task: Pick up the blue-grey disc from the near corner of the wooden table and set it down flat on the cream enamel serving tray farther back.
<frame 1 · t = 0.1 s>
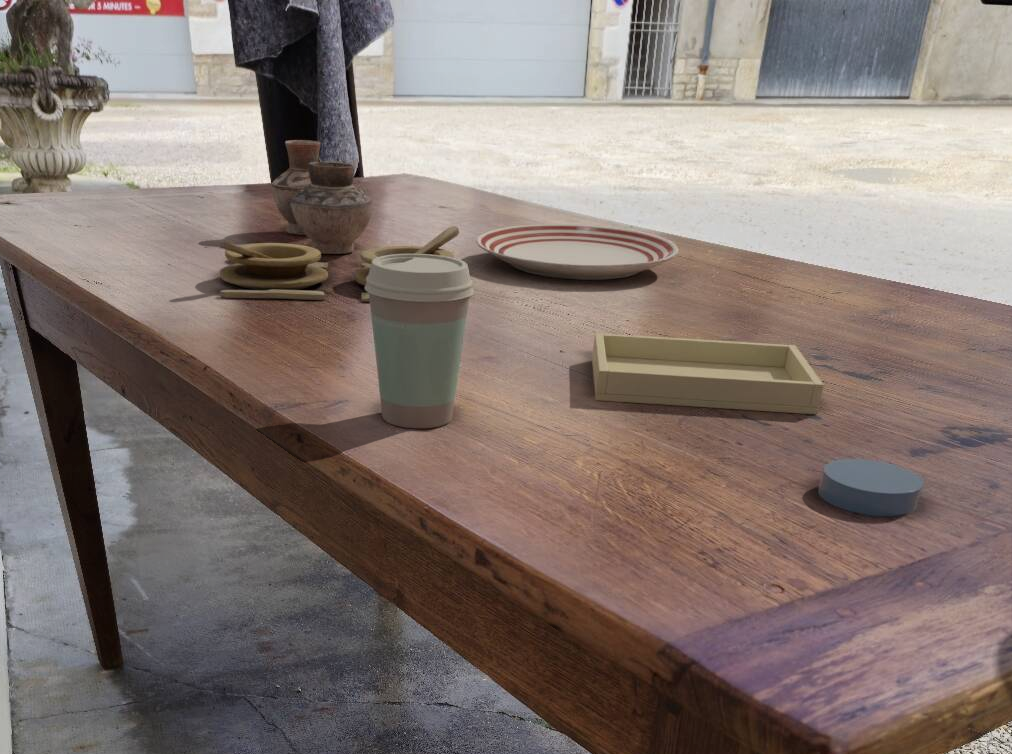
serving tray: (697, 385, 98), on the table
dinner plate: (574, 268, 144), on the table
blue-grey disc: (864, 504, 75), on the table
tableware set: (342, 285, 129), on the table
coffee cup: (416, 420, 87), on the table
pottery: (319, 243, 151), on the table
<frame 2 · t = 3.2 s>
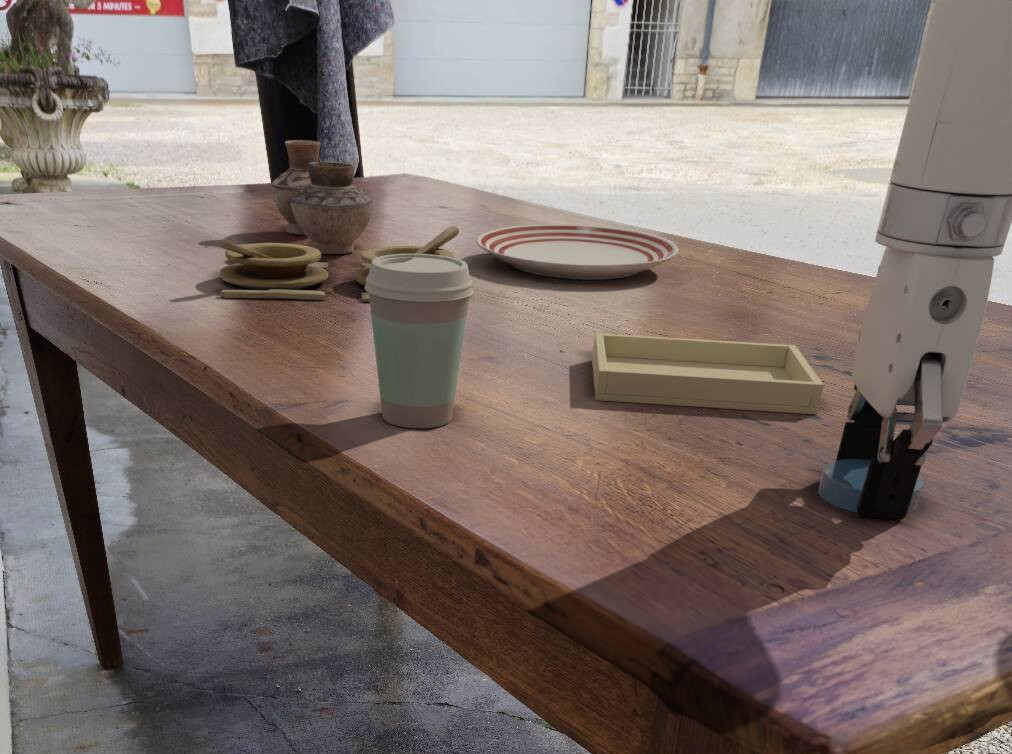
hand: (867, 494, 75), 1 cm above the table, tool pointing down, fingers closed on blue-grey disc, 6 cm apart
blue-grey disc: (864, 504, 75), on the table, touching gripper
everything else where it was.
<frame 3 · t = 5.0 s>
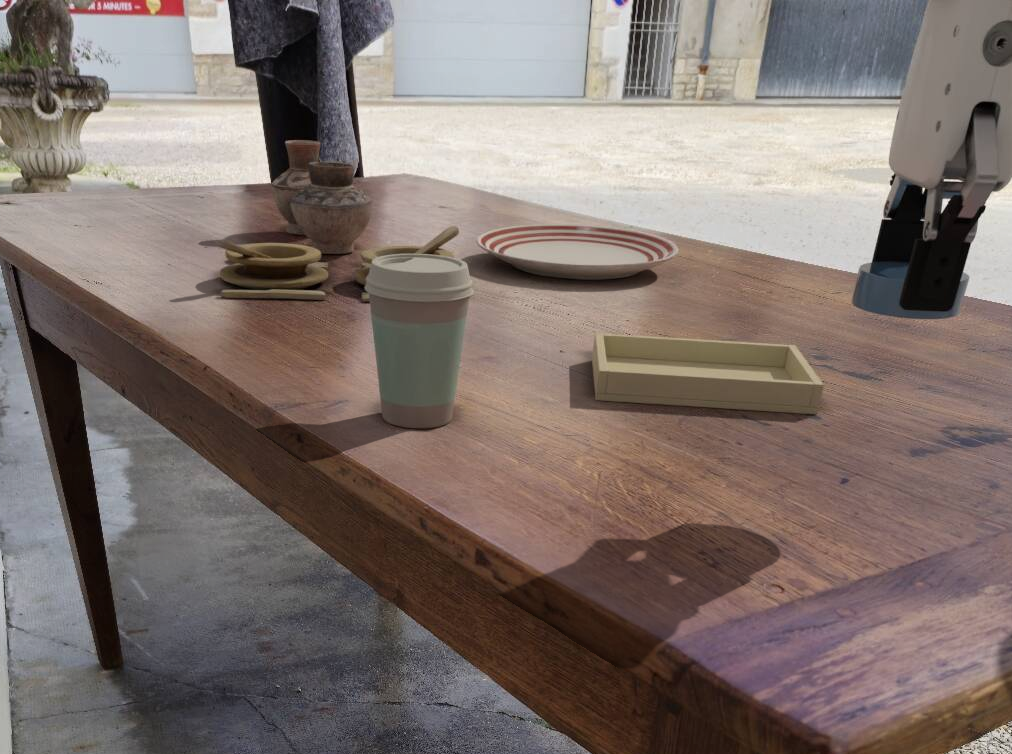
hand: (907, 294, 69), 14 cm above the table, tool pointing down, fingers closed on blue-grey disc, 6 cm apart
blue-grey disc: (904, 307, 69), point 13 cm above the table, touching gripper
everything else where it was.
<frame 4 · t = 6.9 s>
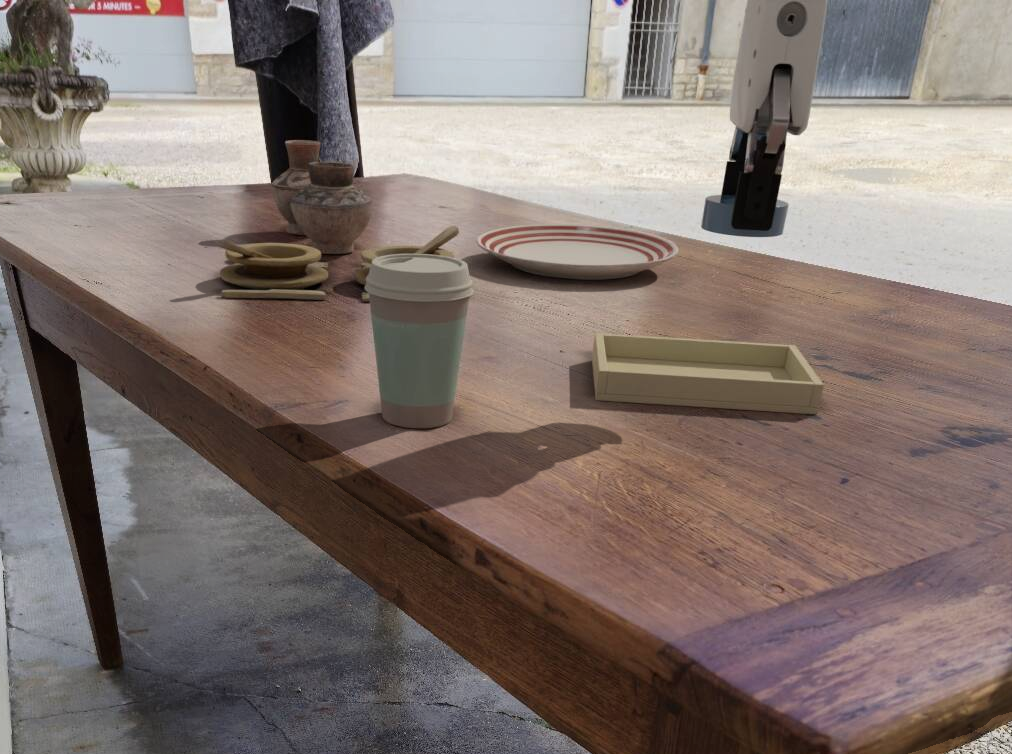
hand: (743, 219, 87), 15 cm above the table, tool pointing down, fingers closed on blue-grey disc, 6 cm apart
blue-grey disc: (741, 230, 88), point 14 cm above the table, touching gripper
everything else where it was.
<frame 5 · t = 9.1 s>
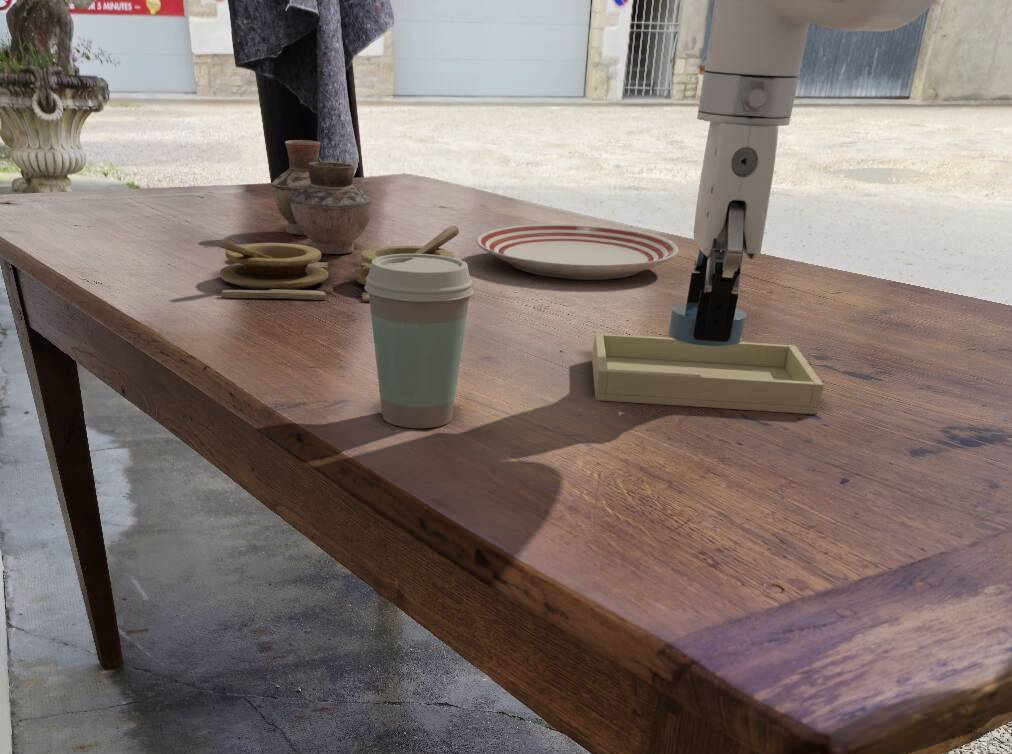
hand: (706, 327, 95), 5 cm above the table, tool pointing down, fingers closed on blue-grey disc, 6 cm apart
blue-grey disc: (704, 336, 96), point 4 cm above the table, touching gripper
everything else where it was.
when the fingers open (1 cm above the table, at t = 10.7 s): blue-grey disc stays where it is, resting on serving tray.
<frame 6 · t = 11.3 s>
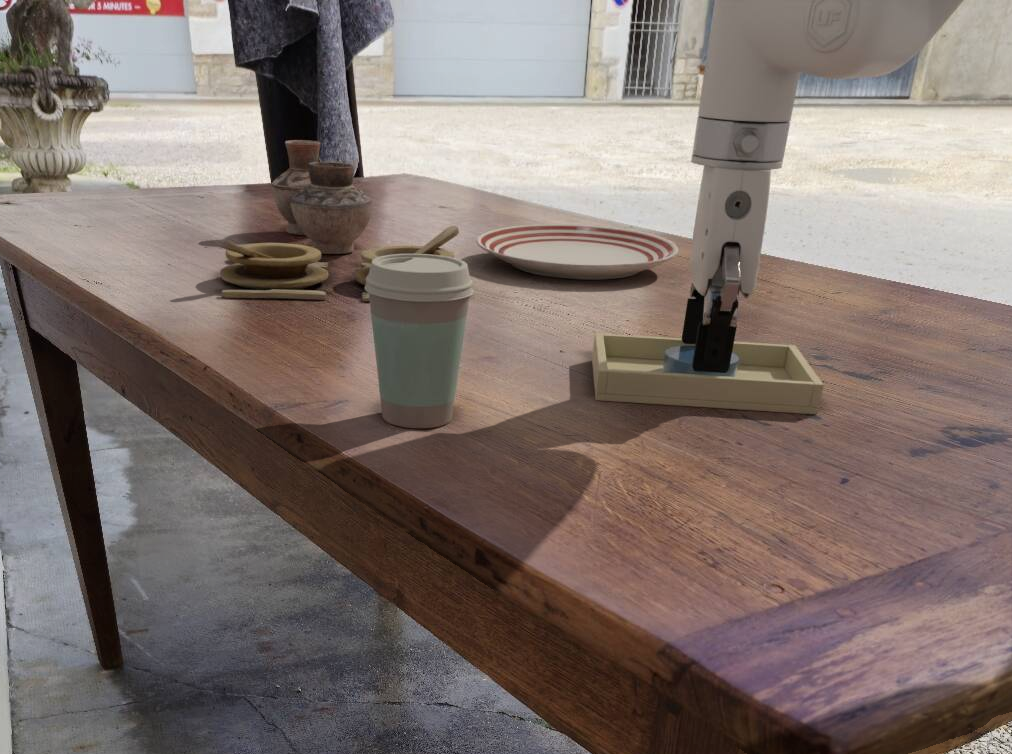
hand: (703, 356, 97), 3 cm above the table, tool pointing down, fingers open, 9 cm apart
blue-grey disc: (697, 379, 98), point 1 cm above the table, touching serving tray
everything else where it was.
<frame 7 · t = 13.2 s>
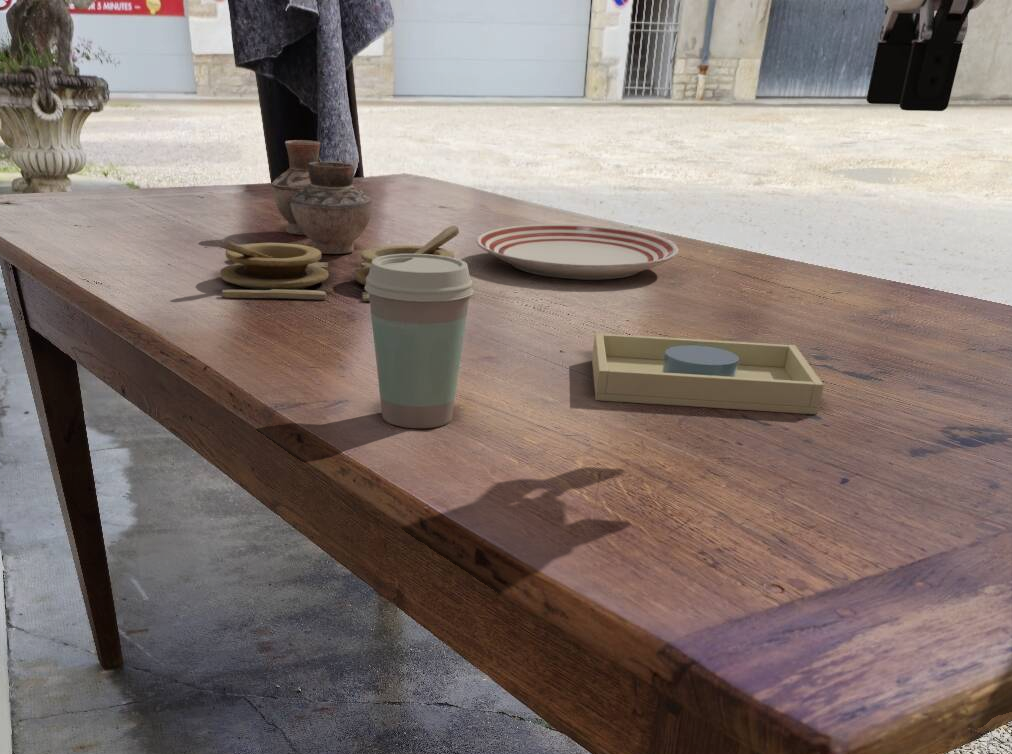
hand: (903, 106, 78), 23 cm above the table, tool pointing down, fingers open, 9 cm apart
nothing on the table moved.
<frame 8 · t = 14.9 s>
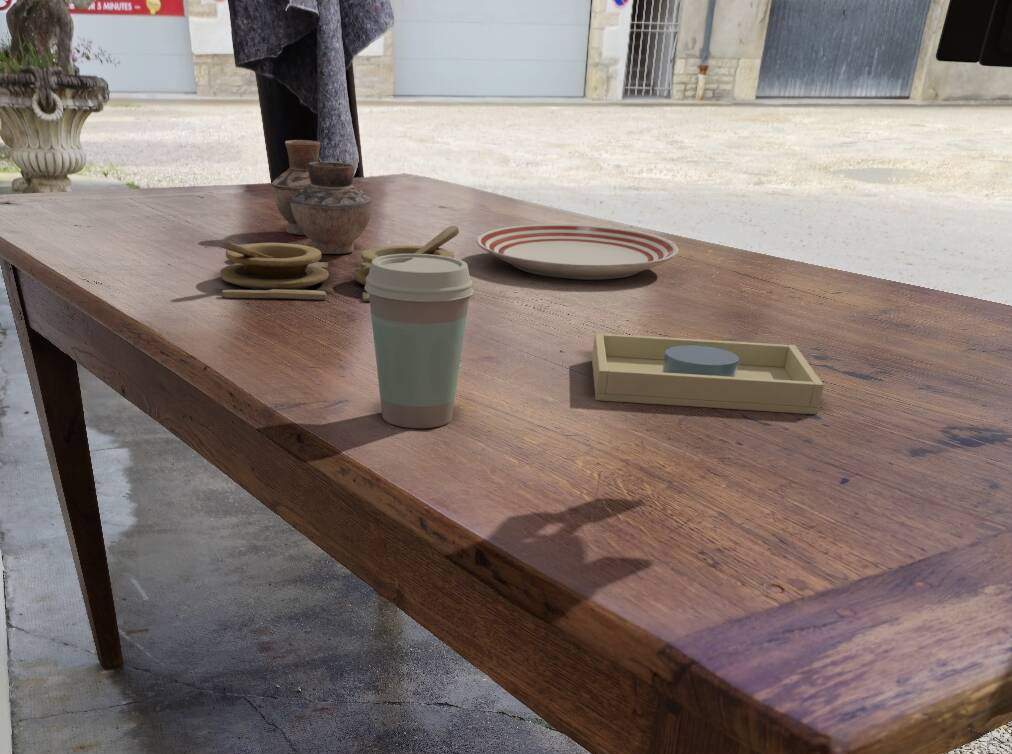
hand: (978, 64, 73), 26 cm above the table, tool pointing down, fingers open, 9 cm apart
nothing on the table moved.
at the end: blue-grey disc inside the target area in the serving tray (0.1 cm from its centre), point 0.6 cm above the serving tray's base; blue-grey disc tilted 0°; the gripper is holding nothing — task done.
